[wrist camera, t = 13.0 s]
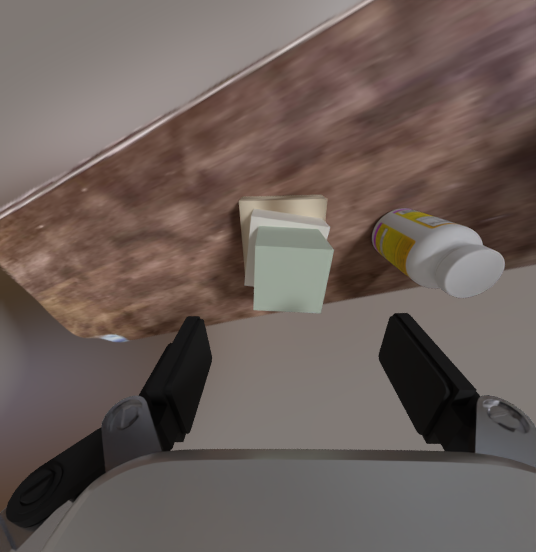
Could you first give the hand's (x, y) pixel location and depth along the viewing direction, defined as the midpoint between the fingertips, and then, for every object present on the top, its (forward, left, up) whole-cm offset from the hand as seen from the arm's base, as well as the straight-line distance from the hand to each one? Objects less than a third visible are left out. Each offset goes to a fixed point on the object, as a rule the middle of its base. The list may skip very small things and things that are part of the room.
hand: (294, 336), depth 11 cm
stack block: (0, +1, -13) cm, 13 cm away
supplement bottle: (-16, +1, -21) cm, 26 cm away
